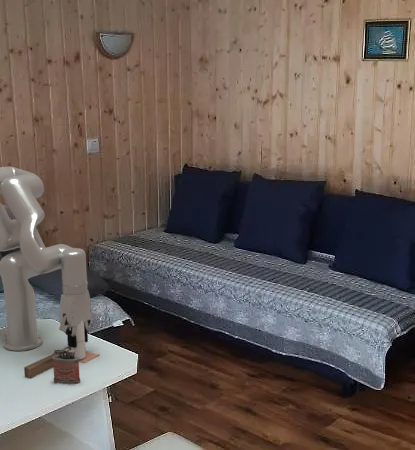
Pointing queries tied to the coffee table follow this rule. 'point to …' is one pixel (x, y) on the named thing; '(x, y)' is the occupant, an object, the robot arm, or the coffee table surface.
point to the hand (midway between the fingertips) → (78, 343)
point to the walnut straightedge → (40, 366)
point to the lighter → (66, 367)
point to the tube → (80, 341)
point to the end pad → (88, 357)
